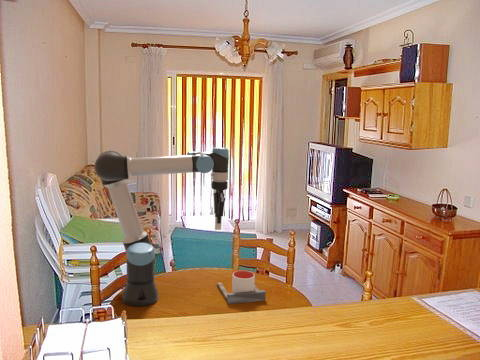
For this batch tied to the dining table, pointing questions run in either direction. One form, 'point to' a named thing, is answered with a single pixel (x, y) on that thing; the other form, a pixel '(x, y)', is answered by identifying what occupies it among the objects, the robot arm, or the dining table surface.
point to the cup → (243, 281)
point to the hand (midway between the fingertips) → (218, 229)
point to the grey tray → (242, 295)
